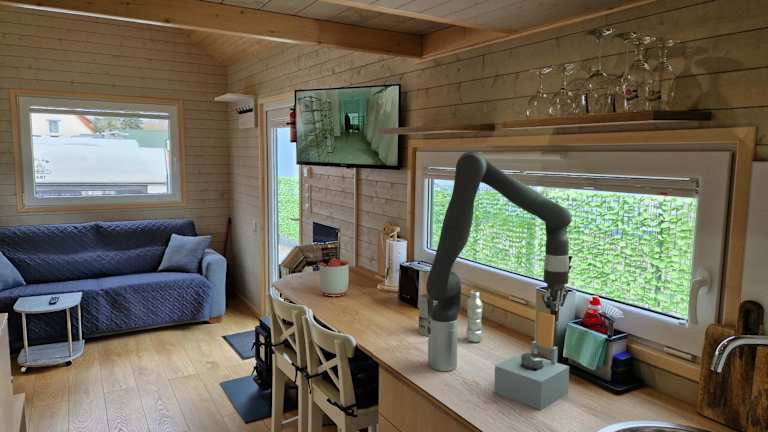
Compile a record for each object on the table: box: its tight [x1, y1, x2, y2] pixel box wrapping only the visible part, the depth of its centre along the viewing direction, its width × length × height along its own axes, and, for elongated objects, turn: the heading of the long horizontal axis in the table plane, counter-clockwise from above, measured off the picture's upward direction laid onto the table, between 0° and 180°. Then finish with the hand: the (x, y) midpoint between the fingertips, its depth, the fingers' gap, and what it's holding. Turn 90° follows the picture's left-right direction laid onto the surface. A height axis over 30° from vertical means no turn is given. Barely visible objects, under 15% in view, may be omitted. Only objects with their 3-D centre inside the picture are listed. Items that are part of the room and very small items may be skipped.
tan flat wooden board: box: [536, 311, 556, 354], centre depth 167 cm, size 5×12×2 cm
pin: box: [521, 352, 544, 371], centre depth 163 cm, size 6×6×11 cm
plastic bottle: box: [465, 289, 484, 343], centre depth 208 cm, size 6×7×20 cm
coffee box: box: [418, 293, 438, 338], centre depth 218 cm, size 9×6×16 cm
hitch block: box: [493, 340, 570, 411], centre depth 163 cm, size 16×16×14 cm
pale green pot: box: [318, 257, 350, 295], centre depth 278 cm, size 16×17×20 cm
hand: (554, 320), depth 171 cm, fingers closed
